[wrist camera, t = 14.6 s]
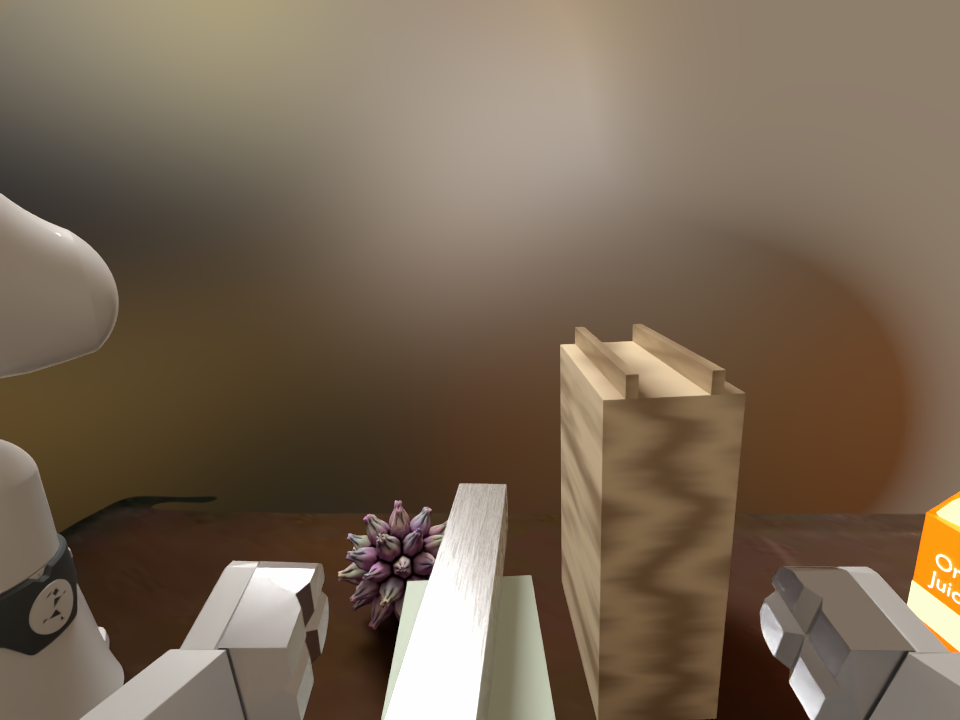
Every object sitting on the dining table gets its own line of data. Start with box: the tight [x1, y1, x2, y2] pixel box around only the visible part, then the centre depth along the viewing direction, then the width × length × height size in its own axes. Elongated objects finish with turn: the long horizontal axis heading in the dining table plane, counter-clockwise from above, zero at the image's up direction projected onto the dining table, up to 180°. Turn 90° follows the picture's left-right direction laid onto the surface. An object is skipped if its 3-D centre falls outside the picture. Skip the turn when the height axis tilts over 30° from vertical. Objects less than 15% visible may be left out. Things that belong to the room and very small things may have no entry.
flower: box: [337, 500, 448, 630], centre depth 48 cm, size 12×12×12 cm
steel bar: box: [385, 484, 508, 720], centre depth 26 cm, size 4×24×4 cm
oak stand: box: [560, 324, 746, 720], centre depth 42 cm, size 9×16×28 cm, turn 1°
